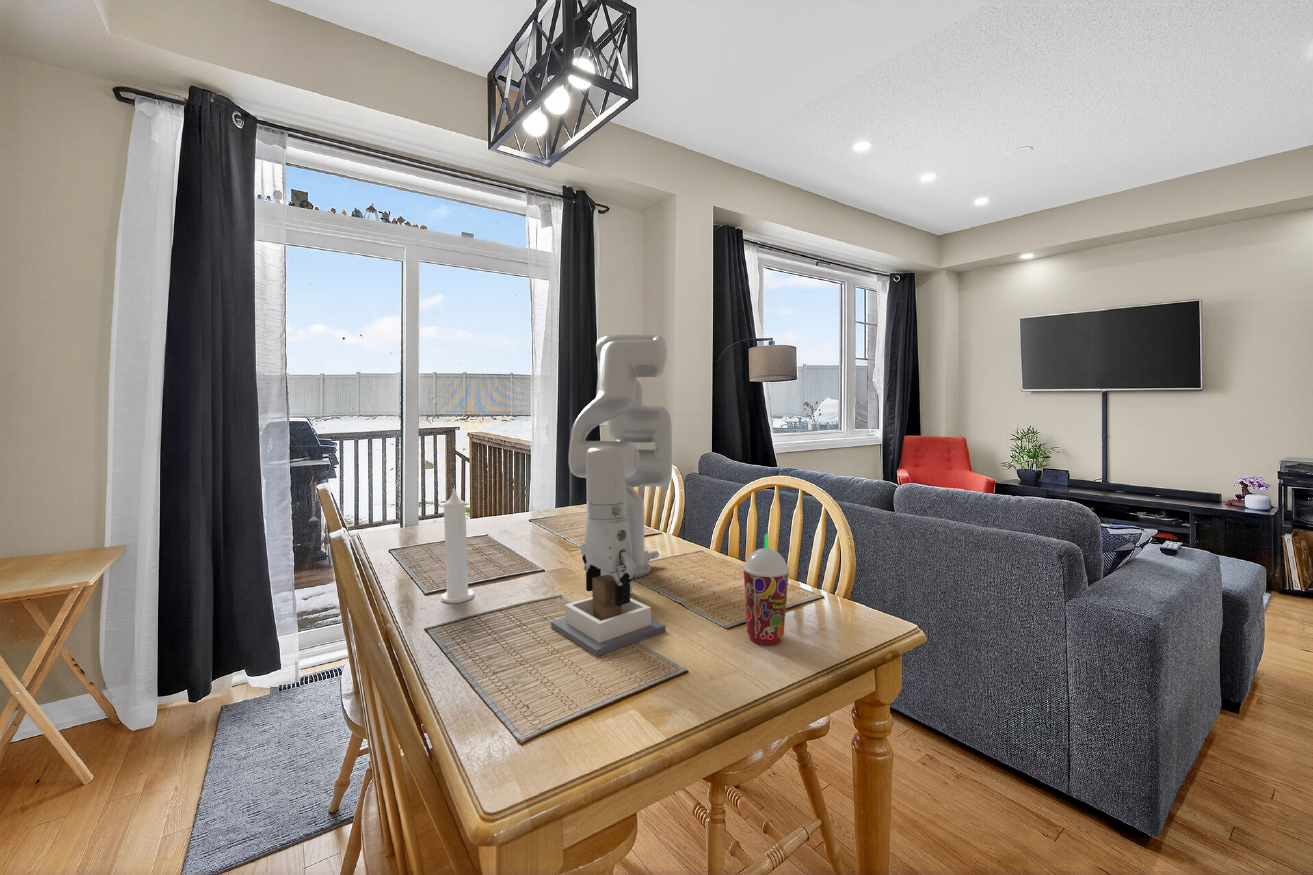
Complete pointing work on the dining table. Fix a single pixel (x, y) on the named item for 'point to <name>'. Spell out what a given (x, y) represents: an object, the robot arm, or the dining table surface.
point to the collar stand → (606, 626)
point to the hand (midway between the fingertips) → (607, 596)
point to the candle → (456, 551)
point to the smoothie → (765, 595)
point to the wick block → (605, 597)
